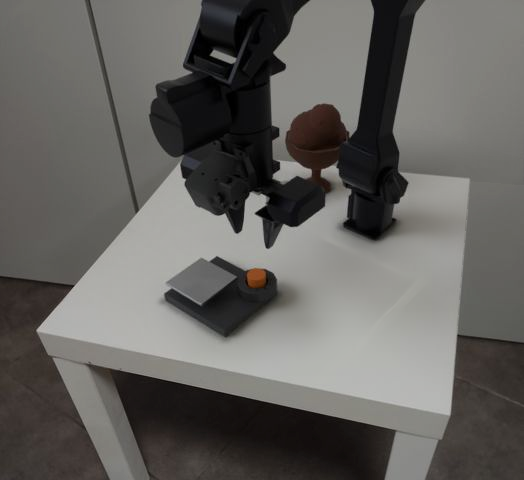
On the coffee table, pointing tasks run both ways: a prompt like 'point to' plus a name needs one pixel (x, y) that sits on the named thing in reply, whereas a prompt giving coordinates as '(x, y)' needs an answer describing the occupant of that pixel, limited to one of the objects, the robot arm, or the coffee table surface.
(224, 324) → the scale
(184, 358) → the coffee table surface
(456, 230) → the coffee table surface
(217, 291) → the scale pan
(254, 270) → the tare button
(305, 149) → the ice cream bowl
